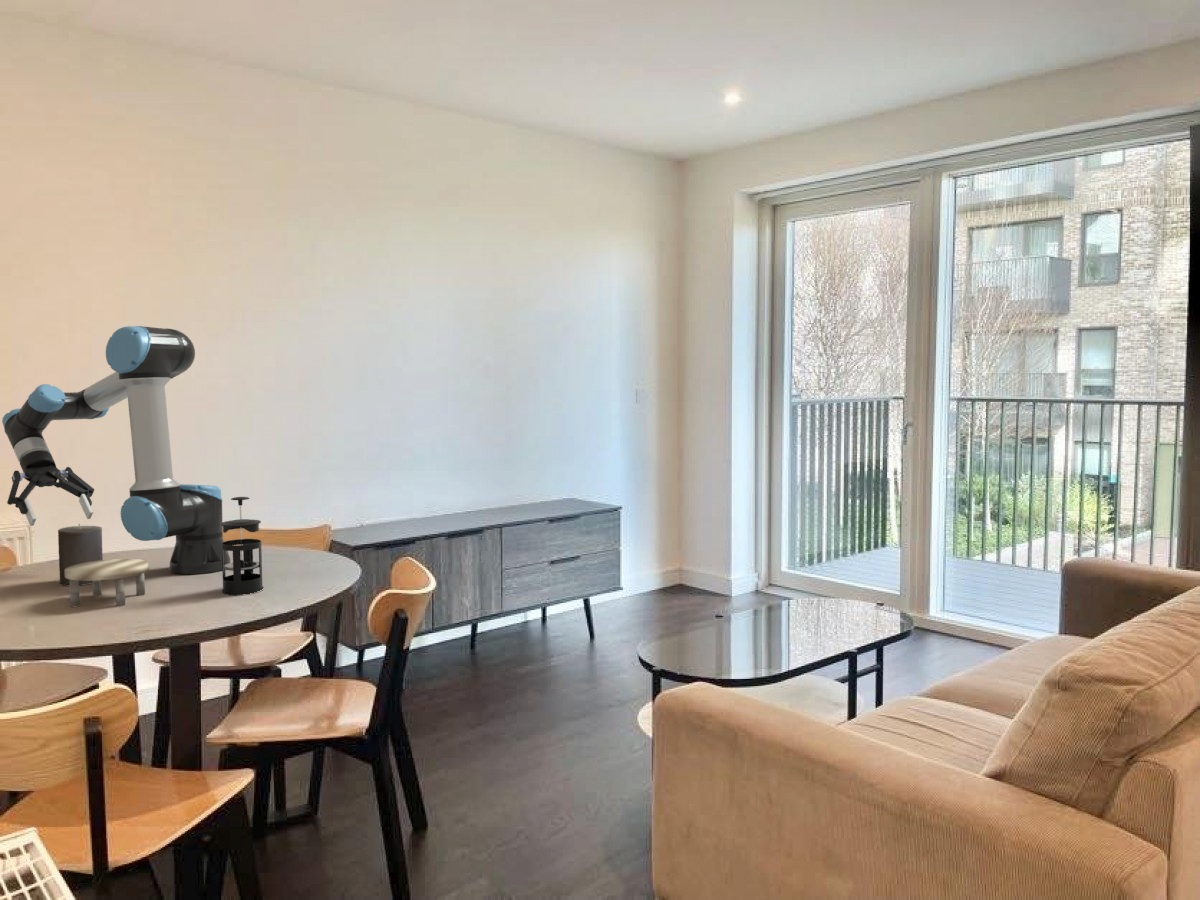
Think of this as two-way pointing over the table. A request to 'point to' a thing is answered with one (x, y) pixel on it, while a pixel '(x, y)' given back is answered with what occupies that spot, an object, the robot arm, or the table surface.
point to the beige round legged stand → (106, 576)
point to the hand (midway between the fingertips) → (62, 519)
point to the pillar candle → (78, 548)
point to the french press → (242, 558)
